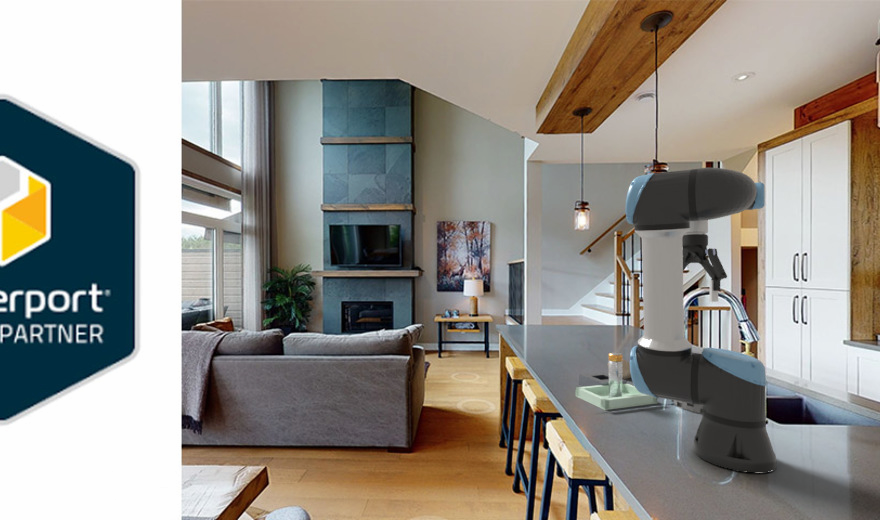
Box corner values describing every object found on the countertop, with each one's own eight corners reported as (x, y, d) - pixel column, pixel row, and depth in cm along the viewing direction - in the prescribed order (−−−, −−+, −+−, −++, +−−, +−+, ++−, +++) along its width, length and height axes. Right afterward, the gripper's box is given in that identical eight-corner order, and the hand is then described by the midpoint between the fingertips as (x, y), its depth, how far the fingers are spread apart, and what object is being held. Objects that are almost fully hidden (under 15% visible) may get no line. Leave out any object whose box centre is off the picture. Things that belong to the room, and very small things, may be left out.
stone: (626, 378, 166) (640, 360, 161) (630, 390, 160) (645, 372, 155) (601, 369, 165) (614, 350, 160) (604, 381, 159) (618, 363, 154)
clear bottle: (625, 399, 132) (625, 354, 132) (614, 401, 131) (614, 355, 131) (615, 395, 136) (616, 352, 136) (605, 397, 135) (605, 352, 135)
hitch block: (626, 392, 142) (626, 380, 142) (602, 395, 139) (602, 383, 139) (602, 383, 154) (602, 372, 154) (579, 385, 150) (579, 374, 150)
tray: (624, 392, 143) (624, 382, 143) (657, 404, 130) (657, 394, 130) (575, 397, 137) (575, 387, 137) (604, 411, 124) (604, 400, 124)
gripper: (740, 232, 127) (740, 302, 127) (671, 236, 151) (670, 296, 151) (722, 231, 125) (722, 303, 125) (654, 236, 148) (654, 296, 148)
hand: (694, 299), depth 138 cm, fingers open, 13 cm apart
